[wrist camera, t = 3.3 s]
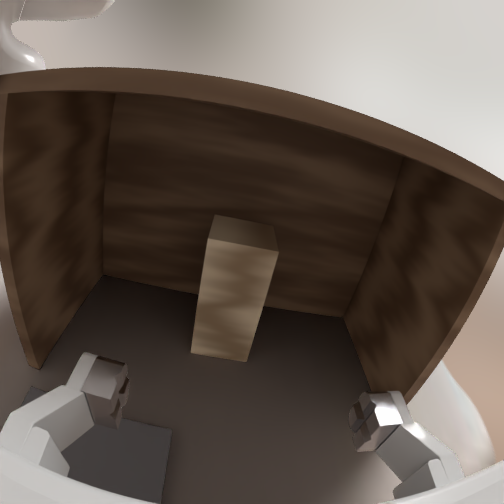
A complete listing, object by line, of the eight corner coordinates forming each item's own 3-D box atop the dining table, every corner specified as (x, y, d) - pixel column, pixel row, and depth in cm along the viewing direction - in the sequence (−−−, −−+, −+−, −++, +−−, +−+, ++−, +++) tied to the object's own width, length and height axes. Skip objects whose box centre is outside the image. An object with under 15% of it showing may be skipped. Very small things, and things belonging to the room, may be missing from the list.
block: (190, 352, 23) (207, 238, 19) (197, 318, 27) (214, 214, 23) (246, 362, 24) (278, 251, 19) (246, 326, 28) (273, 226, 24)
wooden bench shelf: (392, 421, 20) (523, 193, 12) (29, 365, 17) (-2, 75, 9) (348, 313, 33) (409, 148, 25) (98, 267, 30) (112, 82, 22)
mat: (-17, 506, 6) (-22, 503, 6) (34, 391, 15) (31, 386, 15) (152, 577, 7) (151, 576, 7) (172, 433, 16) (172, 429, 16)
